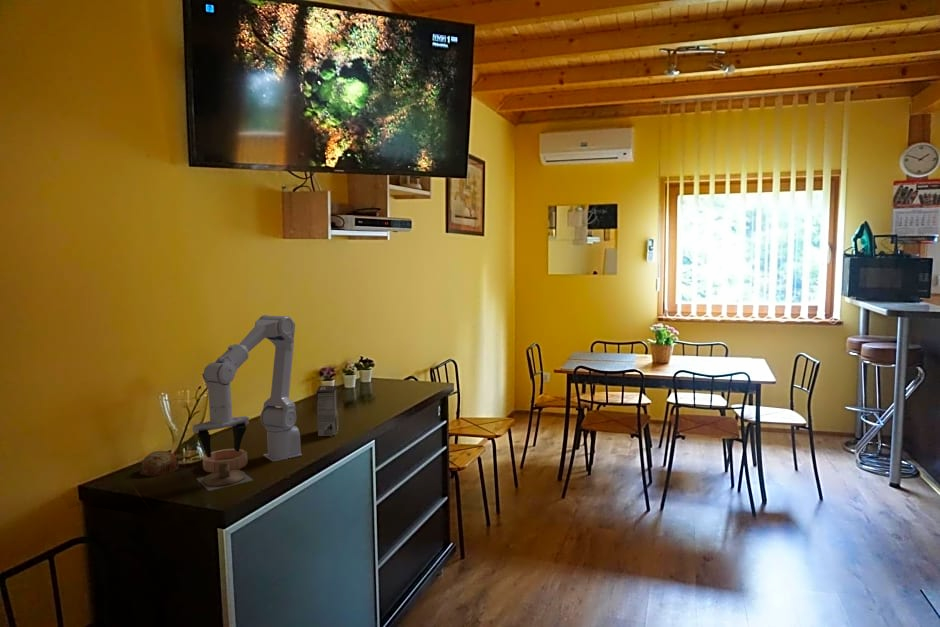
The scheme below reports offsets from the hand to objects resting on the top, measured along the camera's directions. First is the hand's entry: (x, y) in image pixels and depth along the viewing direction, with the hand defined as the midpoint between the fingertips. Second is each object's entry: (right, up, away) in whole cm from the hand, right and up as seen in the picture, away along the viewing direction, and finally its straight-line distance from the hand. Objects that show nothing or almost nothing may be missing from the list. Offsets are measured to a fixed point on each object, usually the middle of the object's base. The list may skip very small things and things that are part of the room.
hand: (222, 453), depth 175 cm
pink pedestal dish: (0, -7, +1) cm, 7 cm away
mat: (0, -8, +1) cm, 8 cm away
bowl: (-4, -7, +13) cm, 15 cm away
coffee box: (+19, -3, +46) cm, 50 cm away
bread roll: (-22, -8, +10) cm, 26 cm away
